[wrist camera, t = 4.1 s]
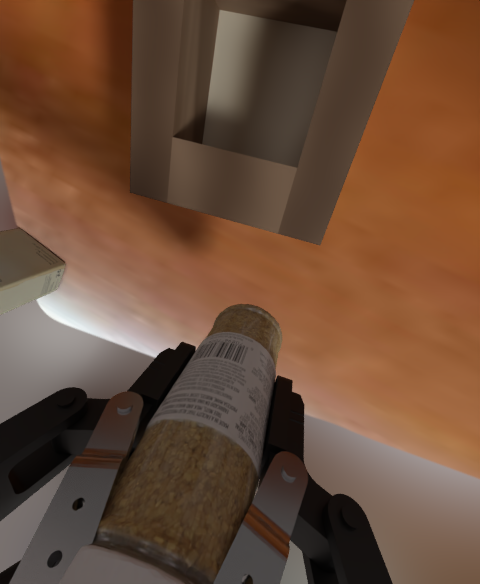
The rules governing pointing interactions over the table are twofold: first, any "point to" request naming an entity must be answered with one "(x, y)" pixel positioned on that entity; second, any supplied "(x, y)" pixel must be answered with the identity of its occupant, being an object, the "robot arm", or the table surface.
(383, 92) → the table surface
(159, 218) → the table surface
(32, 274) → the skincare box
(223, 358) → the sprinkles bottle
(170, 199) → the socket block
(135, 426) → the robot arm
